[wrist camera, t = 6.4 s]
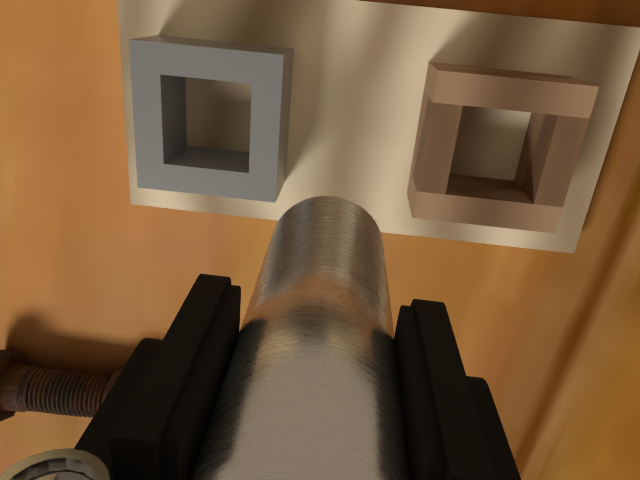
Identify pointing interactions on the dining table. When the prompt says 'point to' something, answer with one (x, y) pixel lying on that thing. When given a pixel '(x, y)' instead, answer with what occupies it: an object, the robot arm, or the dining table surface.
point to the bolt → (49, 388)
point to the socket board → (410, 112)
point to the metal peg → (313, 360)
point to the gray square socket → (170, 116)
